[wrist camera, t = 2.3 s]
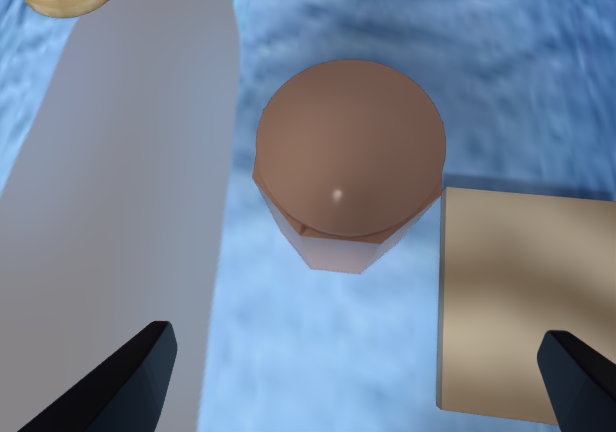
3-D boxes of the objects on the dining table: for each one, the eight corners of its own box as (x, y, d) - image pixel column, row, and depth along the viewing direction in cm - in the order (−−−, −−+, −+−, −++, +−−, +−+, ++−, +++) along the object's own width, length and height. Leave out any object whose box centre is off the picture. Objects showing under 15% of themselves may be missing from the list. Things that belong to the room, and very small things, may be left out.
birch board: (635, 431, 20) (650, 437, 19) (436, 405, 20) (441, 409, 20) (614, 207, 23) (626, 202, 22) (441, 192, 24) (446, 186, 23)
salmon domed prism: (395, 277, 22) (446, 245, 13) (276, 265, 23) (238, 225, 13) (401, 165, 24) (450, 63, 14) (290, 156, 25) (267, 51, 15)
